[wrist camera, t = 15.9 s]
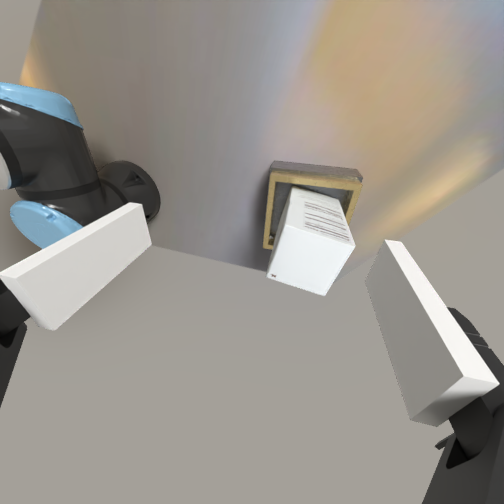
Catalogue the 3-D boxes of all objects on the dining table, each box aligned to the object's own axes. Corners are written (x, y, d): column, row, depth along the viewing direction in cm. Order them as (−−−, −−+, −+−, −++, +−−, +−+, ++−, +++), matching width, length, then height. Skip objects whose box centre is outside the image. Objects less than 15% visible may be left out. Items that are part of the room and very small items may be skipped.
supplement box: (319, 240, 45) (324, 299, 31) (276, 227, 46) (263, 279, 32) (340, 198, 40) (358, 246, 26) (292, 183, 40) (284, 223, 26)
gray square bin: (266, 229, 53) (260, 249, 46) (274, 160, 44) (267, 171, 37) (334, 240, 51) (338, 262, 44) (356, 169, 42) (366, 182, 35)
